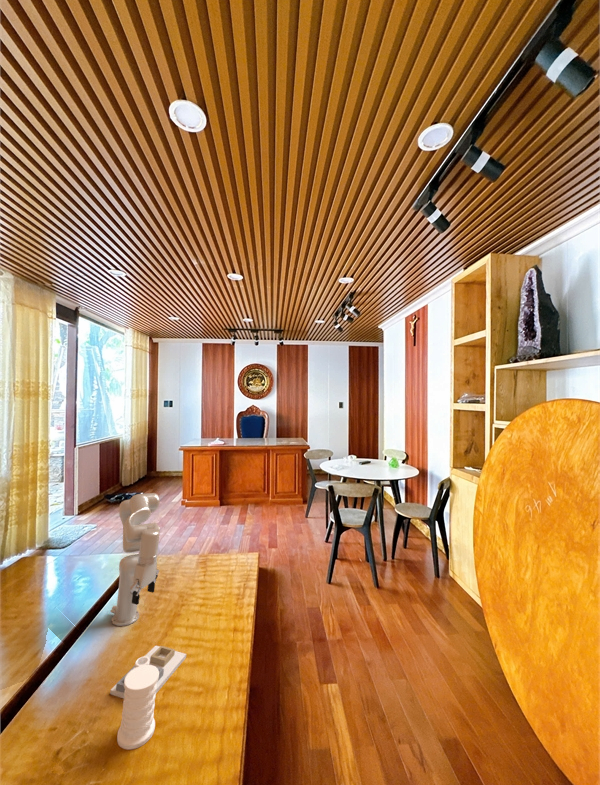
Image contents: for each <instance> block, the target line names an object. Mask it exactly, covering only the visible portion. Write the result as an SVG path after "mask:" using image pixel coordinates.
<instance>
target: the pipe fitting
mask: <svg viewBox="0 0 600 785" xmlns="http://www.w3.org/2000/svg"><path fill="white" fill-rule="evenodd" d="M149 661H150V659H149V658H148V657H146V656H145V655H144V656H143V655H142V656H141V657H138V658H137V660H135V663H134V666H135V667H134V666H133V667H134V668H136V667H139V666H142V665H149Z"/></svg>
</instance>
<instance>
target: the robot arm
mask: <svg viewBox="0 0 600 785" xmlns="http://www.w3.org/2000/svg"><path fill="white" fill-rule="evenodd" d="M160 501H161V500H160V496H159V494H158V493H155V492H150V493H149V492H148V493H138V494H135V495H133V496H132V497H131V498H130V499H125V500H122V501H121V503H120V504H119V509H118V514H119V518H120V520H121V524H122V551H123V552H124V553H127V554H128V553H129V554H130V553H136V554H130V555H126V556H124V557H122V558H121V559H120V561H119V564H118V570H119V574H118V575H119V579H118V580H119V582H118V592H117V599H116V605H113V606H112V607H111V610H110V613H111V614H113V616H112V617H111V624H113V625H114V626H117V627H124V626H128V625H131V624H134V623H135V622H136V621H138V619H139V618H140V612H139V611H138V610H137V609H138V605H139V604H140V593H141V591H142V589H144V588H146V587H147V592H149V593H154V592H155V586H156V583H157V578H158V574H159V572H160V570H159V569H158V560H157V559H158V549H159V541H160V533H161V531H160V530H161V528H160V526H159V524H158V523H156V522H150V523H144V522H146V521H148V519H150V517H151V515H152V513H154V512H155V511H156V510H157V509H158V508H159V506H160V504H161V503H160ZM137 552H139V553H137Z"/></svg>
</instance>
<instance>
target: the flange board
mask: <svg viewBox="0 0 600 785" xmlns="http://www.w3.org/2000/svg"><path fill="white" fill-rule="evenodd" d="M144 656H146V657H148V658H149V659H150V661H149V665H153V666H155V667H156V668H158V670H159V678H158V681H157V686H156V687H157V688H156V691H155V692H156V694H157V693H158V692H159V691H160V690H161V689H162V687H163V686H164V685H165V683H166V682H167V681H168V680H169V678H171V677H172V675H173V674H174V673H175V672H176V670H177V669H178V668H179V667H180V666H181V664H182V663H183V662H184V661H185V660H186V658H187V653H184V652H181V651H177V650H176V649H174V648H171V647H168V646H164V645H160V646H159V645H155V646H153V647H152V648H151V650H149V651H148V652H147V653H146V654H144ZM134 667H135V665H133V667H132V668H131V669H129V671H128V672H127V673H126V674H125V675H124V676H122V677H121V679H120V680H118V681H117V682H116V684H115V685H113V687H112V688H110V692H109V694H110V695H111V696H115V697H117V698H120V699H123V700H124V691H125V688H124V680H125V677H126V675H127V674H128V673H129V672H130V671H131V670H133V669H134Z"/></svg>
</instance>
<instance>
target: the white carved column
mask: <svg viewBox="0 0 600 785" xmlns="http://www.w3.org/2000/svg"><path fill="white" fill-rule="evenodd" d="M130 670H131V669H130ZM130 670H129V671H130ZM129 671H128V672H129ZM128 672H127V673H128ZM127 673H126V674H127ZM126 674H125V675H126ZM158 678H159V670H158V668H156V667H155V666H153V665H142V666H139V667H136V668H134V669H133V670H131V671H130V672H129V673H128V674H127V675H126V677H125V680H124V688H125V691H124V699H123V701H122V712H121V722H120V726H119V728H118V730H117V737H116V741H117V742H116V743H117V744H118V746H119V747H120V748H121V749H124V750H135V749H138V748H141V747H142V746H144V745H145V744H146V743H147V742H149V740H150V739H151V738H152V736H153V735H154V733H155V728H156V720H155V718H154V717H155V713H154V712H155V711H154V710H155V708H156V702H155V700H156V698H157V697H156V696H157V693H156V692H155V691H156V688H157V687H156V686H157V681H158Z"/></svg>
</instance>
